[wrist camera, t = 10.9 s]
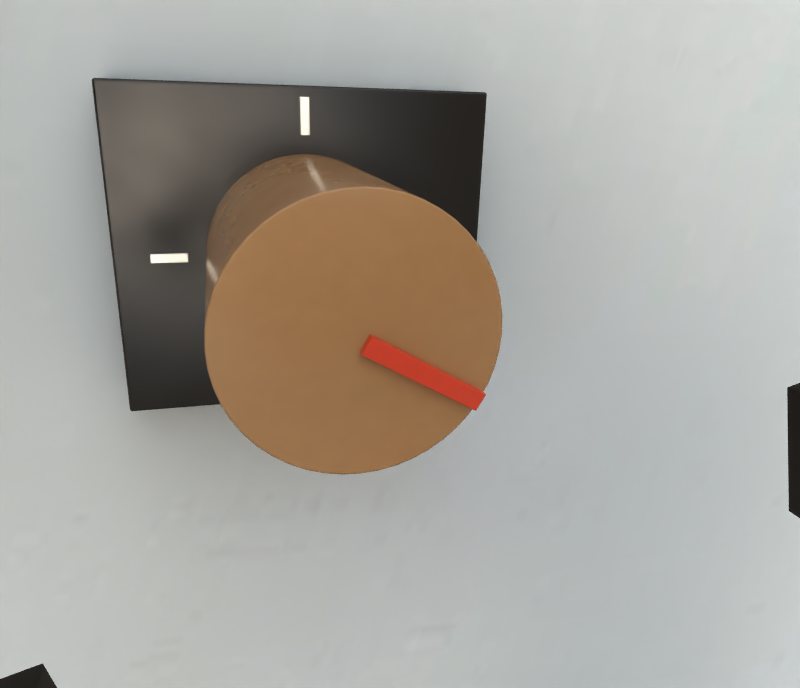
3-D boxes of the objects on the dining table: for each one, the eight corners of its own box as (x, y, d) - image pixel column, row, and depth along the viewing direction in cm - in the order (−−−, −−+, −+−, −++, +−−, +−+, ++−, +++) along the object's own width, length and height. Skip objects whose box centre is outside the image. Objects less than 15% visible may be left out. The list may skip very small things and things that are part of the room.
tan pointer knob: (170, 293, 27) (146, 414, 17) (266, 113, 25) (304, 122, 15) (342, 374, 30) (411, 517, 20) (434, 217, 29) (560, 282, 18)
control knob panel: (466, 93, 30) (488, 92, 27) (450, 365, 34) (469, 386, 32) (101, 79, 26) (90, 77, 24) (135, 388, 30) (129, 413, 28)
